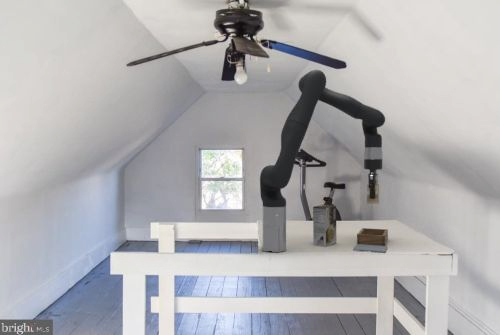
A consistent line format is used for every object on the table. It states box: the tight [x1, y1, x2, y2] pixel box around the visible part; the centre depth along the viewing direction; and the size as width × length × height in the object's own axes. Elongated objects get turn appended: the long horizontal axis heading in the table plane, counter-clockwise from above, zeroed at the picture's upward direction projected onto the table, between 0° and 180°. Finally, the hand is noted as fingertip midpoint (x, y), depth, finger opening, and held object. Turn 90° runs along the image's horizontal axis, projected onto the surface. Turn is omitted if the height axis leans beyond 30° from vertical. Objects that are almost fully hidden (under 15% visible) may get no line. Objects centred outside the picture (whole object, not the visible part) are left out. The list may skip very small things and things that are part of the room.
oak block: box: [366, 184, 380, 205], centre depth 184 cm, size 4×4×8 cm
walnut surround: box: [356, 227, 389, 246], centre depth 185 cm, size 18×11×4 cm, turn 159°
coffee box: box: [312, 204, 337, 247], centre depth 181 cm, size 9×6×16 cm
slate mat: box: [352, 243, 388, 254], centre depth 170 cm, size 11×12×1 cm
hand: (372, 198), depth 184 cm, fingers closed on oak block, 4 cm apart
